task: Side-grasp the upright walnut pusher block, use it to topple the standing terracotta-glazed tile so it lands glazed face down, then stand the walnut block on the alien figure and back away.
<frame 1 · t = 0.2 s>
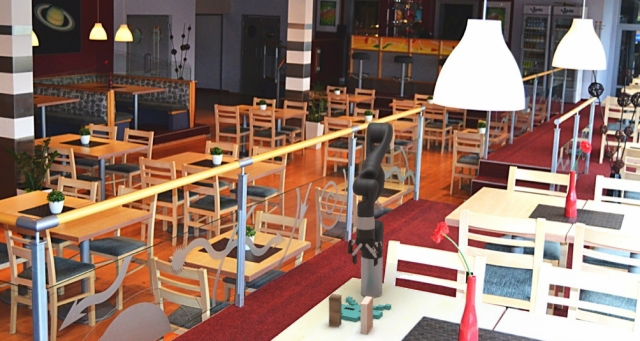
hand: (365, 264, 341), 18 cm above the table, tool pointing down, fingers open, 8 cm apart
tile: (366, 329, 320), on the table
alien figure: (359, 313, 337), on the table
pusher: (335, 324, 325), on the table
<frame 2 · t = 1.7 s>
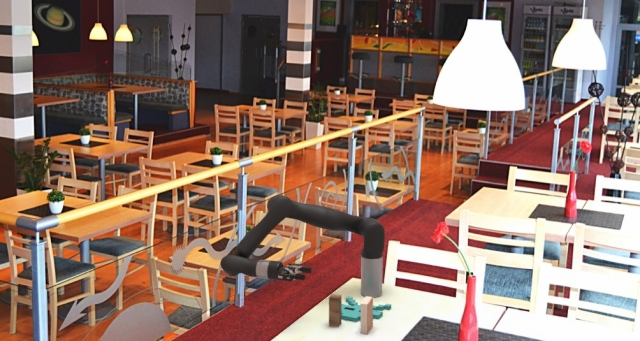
hand: (308, 273, 324), 20 cm above the table, tool horizontal, fingers open, 8 cm apart
nothing on the table moved.
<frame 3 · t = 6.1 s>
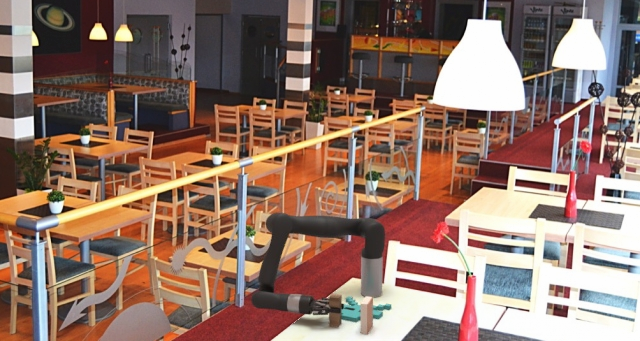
hand: (342, 308, 323), 7 cm above the table, tool horizontal, fingers closed on pusher, 4 cm apart
pusher: (335, 324, 325), on the table, touching gripper
everything else where it was.
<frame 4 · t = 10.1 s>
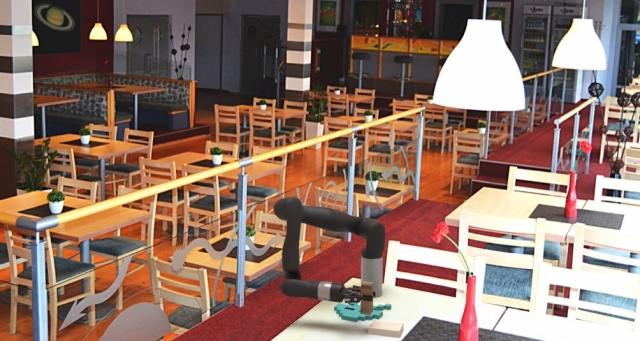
hand: (373, 296, 317), 14 cm above the table, tool horizontal, fingers closed on pusher, 4 cm apart
tile: (371, 327, 320), point 1 cm above the table, tilted 90°
pusher: (366, 312, 319), point 7 cm above the table, touching gripper
everything else where it was.
when the fingers open (10 cm above the table, at t = 15.5 s): pusher drops 2 cm, resting on alien figure.
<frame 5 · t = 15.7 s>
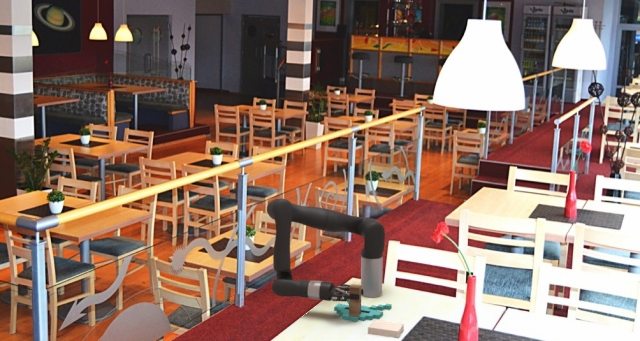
hand: (361, 294, 328), 10 cm above the table, tool horizontal, fingers open, 5 cm apart
alien figure: (359, 313, 338), on the table, touching pusher
pusher: (354, 314, 330), point 2 cm above the table, touching alien figure
everything else where it was.
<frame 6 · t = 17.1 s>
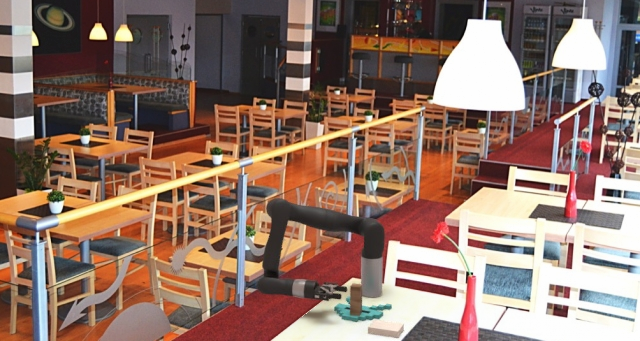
hand: (344, 293, 330), 10 cm above the table, tool horizontal, fingers open, 8 cm apart
pusher: (356, 313, 332), point 2 cm above the table, touching alien figure
everything else where it was.
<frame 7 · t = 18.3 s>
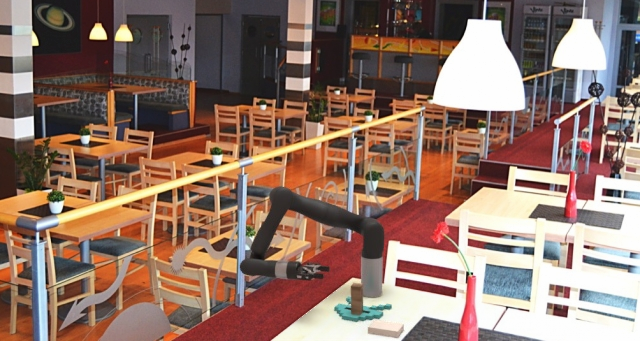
hand: (326, 272, 330), 18 cm above the table, tool horizontal, fingers open, 8 cm apart
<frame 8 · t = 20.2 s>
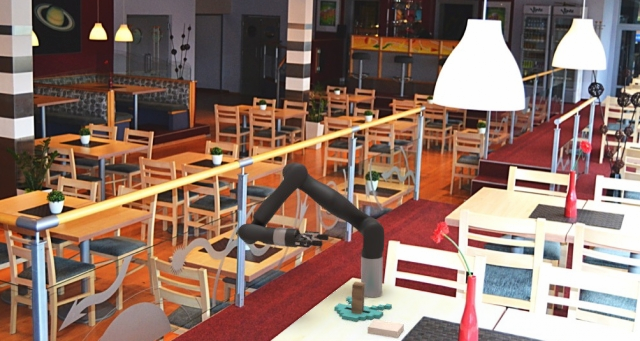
hand: (325, 240, 326), 32 cm above the table, tool horizontal, fingers open, 8 cm apart
pusher: (357, 311, 334), point 2 cm above the table, touching alien figure
everything else where it was.
at the end: tile tilted 90°; pusher inside the target area on the alien figure (3.9 cm from its centre), point 2.4 cm above the alien figure's base; pusher tilted 0° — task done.
